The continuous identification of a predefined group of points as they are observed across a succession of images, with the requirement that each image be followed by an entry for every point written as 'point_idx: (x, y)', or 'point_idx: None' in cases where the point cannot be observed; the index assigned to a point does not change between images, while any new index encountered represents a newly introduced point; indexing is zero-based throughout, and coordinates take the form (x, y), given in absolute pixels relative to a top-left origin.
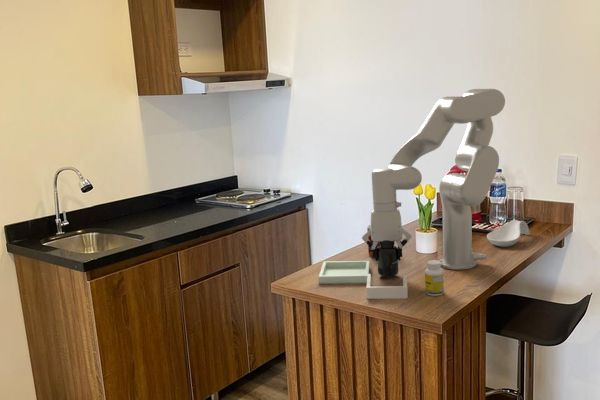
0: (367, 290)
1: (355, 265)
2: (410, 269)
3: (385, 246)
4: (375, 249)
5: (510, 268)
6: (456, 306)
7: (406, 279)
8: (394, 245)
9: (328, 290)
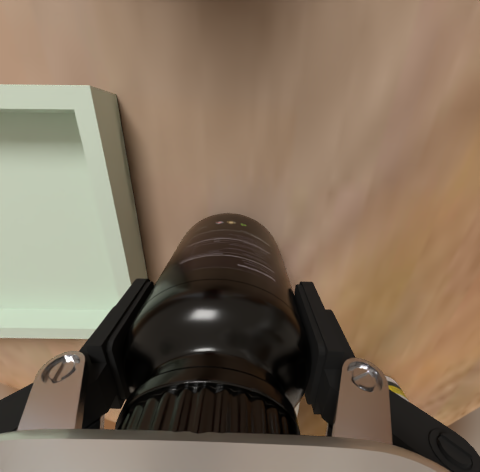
0: None
1: (19, 111)
2: (351, 146)
3: None
4: (113, 403)
5: None
6: None
7: (297, 413)
8: (291, 379)
9: (33, 364)
